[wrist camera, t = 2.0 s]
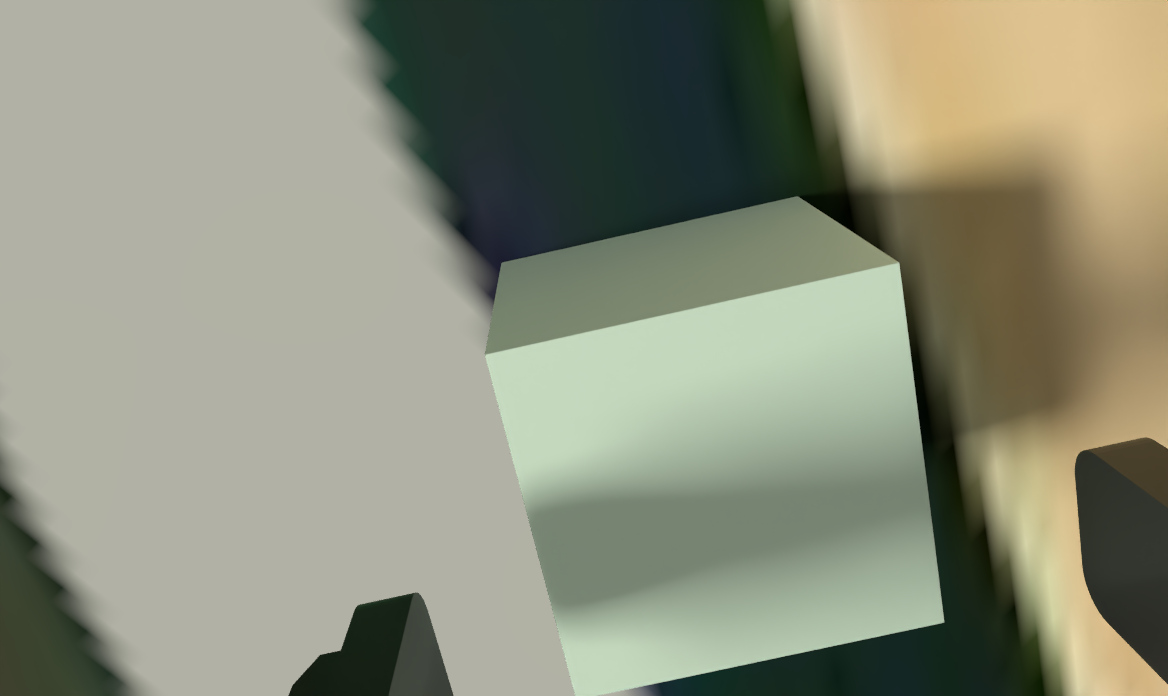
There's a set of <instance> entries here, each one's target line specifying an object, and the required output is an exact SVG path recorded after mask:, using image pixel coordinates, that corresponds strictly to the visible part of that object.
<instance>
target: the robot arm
mask: <svg viewBox="0 0 1168 696" xmlns="http://www.w3.org/2000/svg"><path fill="white" fill-rule="evenodd" d="M1075 480H1076V492H1077V504H1078V517H1079V529H1080V542H1081V554H1082V566H1083V573H1084V577H1085V581H1086V585H1087V587H1088V590H1089V593H1090V595H1091V598H1092V600H1093V602H1094V604H1095V606H1096V608H1097V609H1098V611H1099V613H1100V614H1101V615H1102V617H1103V618H1104V619H1105V620H1106V622H1107V623H1108V624H1109V625H1110V626H1111V627H1112V628H1113V629H1114V630H1115V631H1116V632H1117V633H1118V634H1119V635H1120V636H1121V637H1122V638H1123V639H1124V640H1125V641H1126V642H1127V643H1128V644H1129V645H1130V646H1131V647H1132V648H1133V649H1134V650H1135V651H1136V652H1137V653H1138V654H1139V655H1140V656H1141V657H1142V658H1143V659H1144V660H1145V662H1146V663H1147V664H1148V665H1149V666H1150V667H1151V668H1152V669H1153V670H1154V671H1155V672H1156V673H1157V674H1158V675H1159V676H1160V677H1161V678H1162V679H1163V680H1164V681H1165V682H1166V683H1167V684H1168V449H1167V448H1165V447H1164V446H1162V445H1161V444H1159V443H1158V442H1156V441H1154V440H1152V439H1150V438H1140V439H1136V440H1131V441H1126V442H1122V443H1117V444H1112V445H1108V446H1103V447H1098V448H1094V449H1089V450H1084V451H1082V452H1080V454H1079V455H1078V457H1077V459H1076V463H1075ZM289 696H453V692H452V690H451V686H450V683H449V680H448V676H447V673H446V669H445V666H444V663H443V659H442V656H441V653H440V650H439V646H438V643H437V640H436V637H435V633H434V630H433V626H432V623H431V620H430V616H429V614H428V610H427V607H426V605H425V602H424V600H423V598H422V597H421V595H420V594H419V593H412V594H407V595H403V596H398V597H393V598H389V599H384V600H379V601H375V602H371V603H366V604H361V605H358V606H357V607H356V609H355V611H354V614H353V617H352V619H351V622H350V625H349V628H348V631H347V634H346V637H345V640H344V643H343V646H342V649H341V651H337V652H332V653H327V654H323V655H320V656H319V657H318V658H317V659H316V660H315V662H314V663H313V664H312V665H311V666H310V667H309V668H308V669H307V670H306V671H305V672H304V673H303V675H302V676H301V677H300V678H299V679H298V680H297V681H296V682H295V684H293V686H292V688H291V691H290V693H289Z"/></svg>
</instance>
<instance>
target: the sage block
mask: <svg viewBox="0 0 1168 696" xmlns="http://www.w3.org/2000/svg"><path fill="white" fill-rule="evenodd" d="M485 357H486V361H487V365H488V369H489V372H490V376H491V380H492V384H493V387H494V391H495V395H496V399H497V403H498V406H499V410H500V414H501V418H502V421H503V425H504V429H505V433H506V436H507V440H508V444H509V448H510V452H511V455H512V459H513V463H514V467H515V470H516V474H517V478H518V482H519V486H520V489H521V493H522V497H523V501H524V504H525V508H526V512H527V515H528V519H529V523H530V527H531V531H532V535H533V538H534V542H535V546H536V550H537V553H538V557H539V561H540V565H541V568H542V572H543V576H544V580H545V583H546V587H547V591H548V595H549V598H550V602H551V606H552V610H553V614H554V618H555V621H556V625H557V629H558V632H559V636H560V640H561V643H562V647H563V652H564V655H565V659H566V663H567V666H568V670H569V674H570V678H571V682H572V685H573V689H574V693H575V696H598V695H603V694H608V693H613V692H617V691H622V690H627V689H631V688H636V687H641V686H646V685H650V684H655V683H660V682H665V681H669V680H674V679H679V678H684V677H688V676H693V675H698V674H702V673H707V672H712V671H717V670H721V669H726V668H731V667H736V666H740V665H745V664H750V663H755V662H759V661H764V660H769V659H773V658H778V657H783V656H788V655H792V654H797V653H802V652H807V651H811V650H816V649H821V648H826V647H830V646H835V645H840V644H845V643H849V642H854V641H859V640H863V639H868V638H873V637H878V636H882V635H887V634H892V633H897V632H901V631H906V630H911V629H916V628H920V627H925V626H930V625H934V624H939V623H944V616H943V608H942V600H941V592H940V584H939V576H938V568H937V560H936V552H935V544H934V536H933V528H932V520H931V512H930V504H929V496H928V488H927V480H926V472H925V464H924V456H923V448H922V440H921V432H920V424H919V416H918V408H917V400H916V392H915V384H914V376H913V368H912V360H911V352H910V345H909V337H908V329H907V321H906V313H905V305H904V297H903V289H902V281H901V273H900V265H899V262H897V261H896V260H894V259H893V258H891V257H890V256H888V255H887V254H885V253H884V252H882V251H881V250H879V249H878V248H876V247H875V246H873V245H871V244H870V243H868V242H867V241H865V240H864V239H862V238H861V237H859V236H858V235H856V234H855V233H853V232H852V231H850V230H848V229H847V228H845V227H844V226H842V225H841V224H839V223H838V222H836V221H835V220H833V219H832V218H830V217H829V216H827V215H826V214H824V213H822V212H821V211H819V210H818V209H816V208H815V207H813V206H812V205H810V204H809V203H807V202H806V201H804V200H803V199H801V198H799V197H798V196H797V197H792V198H788V199H783V200H779V201H775V202H770V203H766V204H761V205H757V206H752V207H748V208H743V209H739V210H734V211H730V212H726V213H721V214H717V215H712V216H708V217H703V218H699V219H694V220H690V221H686V222H681V223H677V224H672V225H668V226H663V227H659V228H654V229H650V230H645V231H641V232H637V233H632V234H628V235H623V236H619V237H614V238H610V239H605V240H601V241H596V242H592V243H588V244H583V245H579V246H574V247H570V248H565V249H561V250H556V251H552V252H548V253H543V254H539V255H534V256H530V257H525V258H521V259H516V260H512V261H507V262H503V263H502V264H501V269H500V275H499V280H498V286H497V291H496V297H495V302H494V308H493V313H492V318H491V324H490V329H489V335H488V340H487V346H486V351H485Z"/></svg>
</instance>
